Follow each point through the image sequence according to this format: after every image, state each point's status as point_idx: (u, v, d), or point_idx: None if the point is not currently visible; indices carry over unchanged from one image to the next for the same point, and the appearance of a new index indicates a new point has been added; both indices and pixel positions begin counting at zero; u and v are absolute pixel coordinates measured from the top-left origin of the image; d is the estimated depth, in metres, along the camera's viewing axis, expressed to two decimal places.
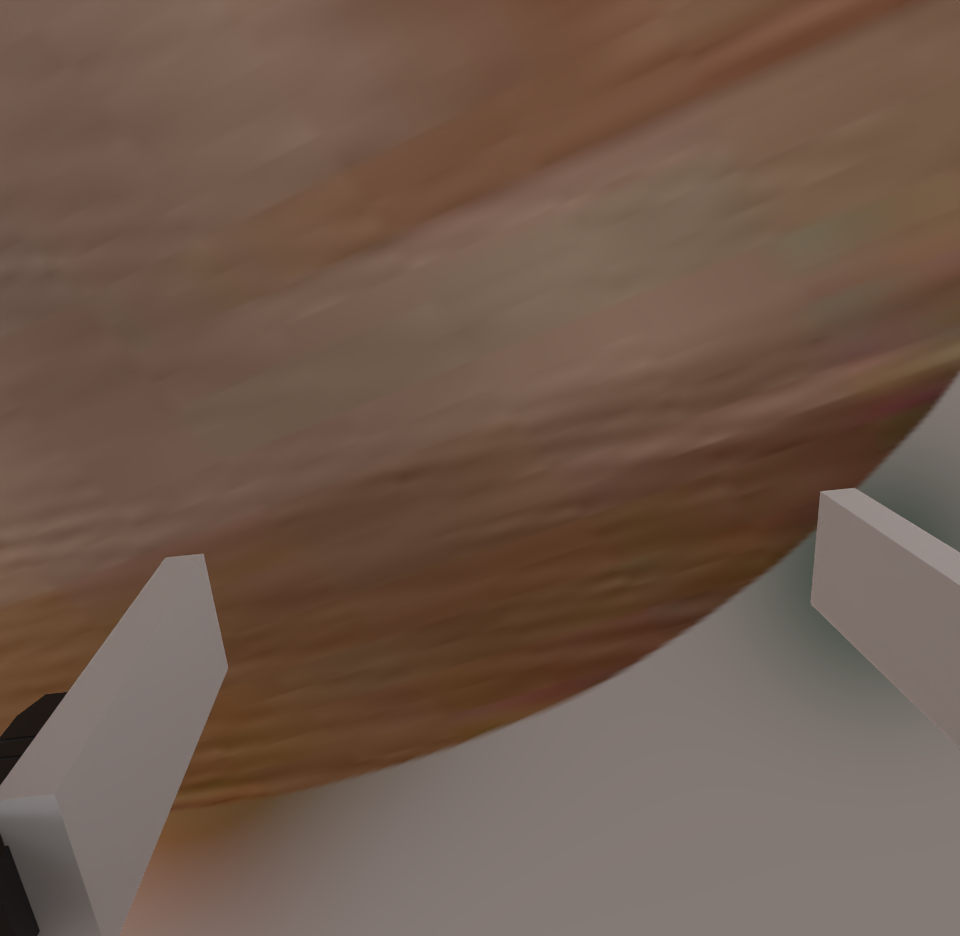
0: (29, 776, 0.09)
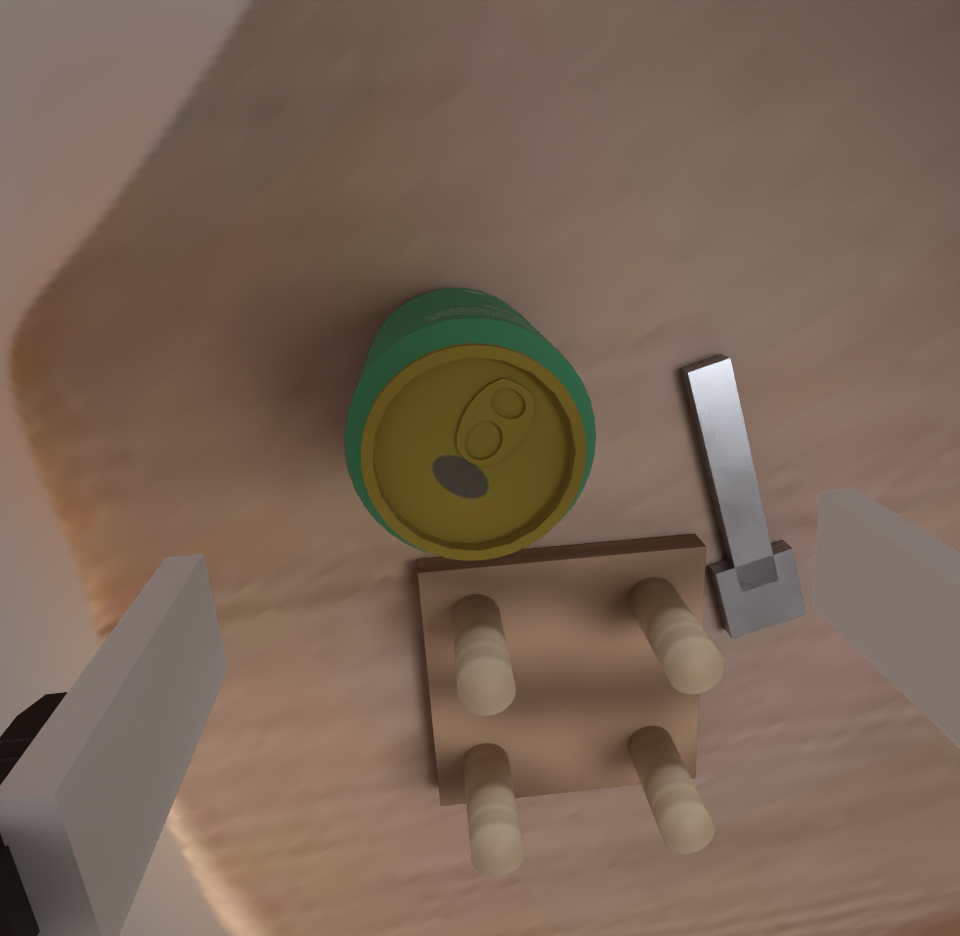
0: (29, 776, 0.09)
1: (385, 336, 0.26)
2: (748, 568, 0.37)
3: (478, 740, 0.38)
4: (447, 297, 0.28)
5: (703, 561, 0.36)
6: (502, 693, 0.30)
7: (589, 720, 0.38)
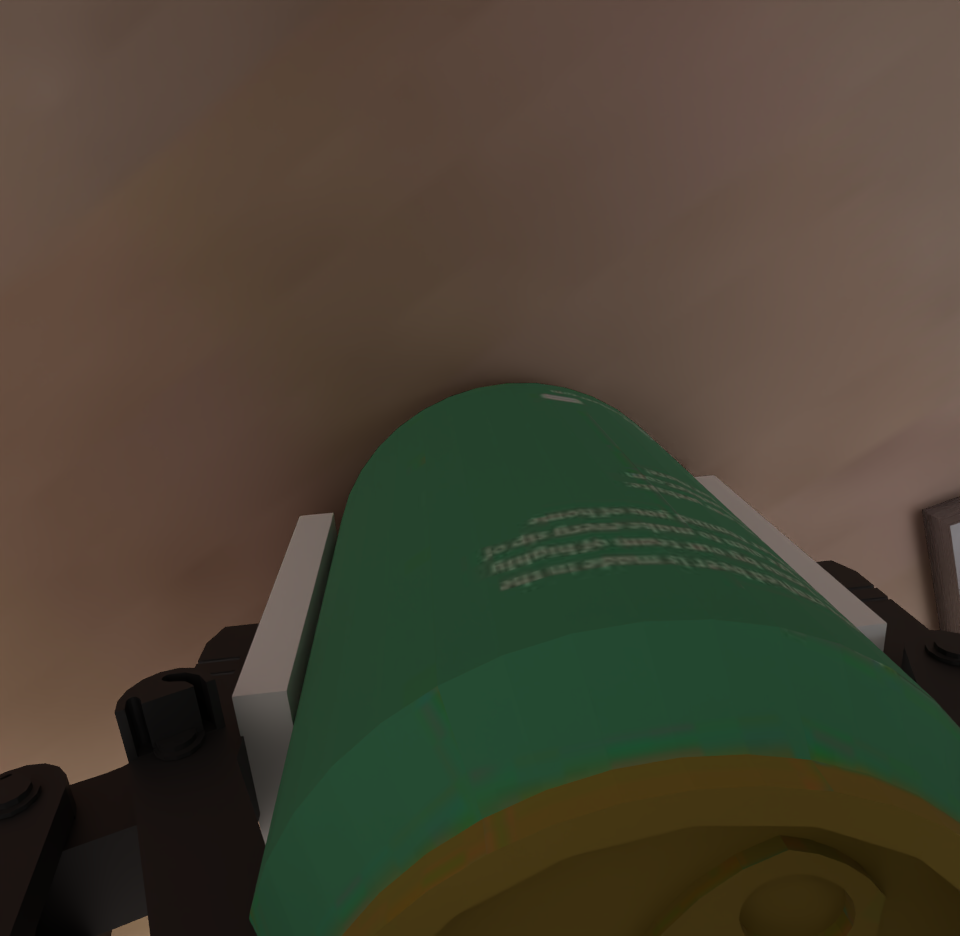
0: (258, 678, 0.10)
1: (374, 556, 0.10)
2: None
3: None
4: (516, 430, 0.12)
5: None
6: None
7: None
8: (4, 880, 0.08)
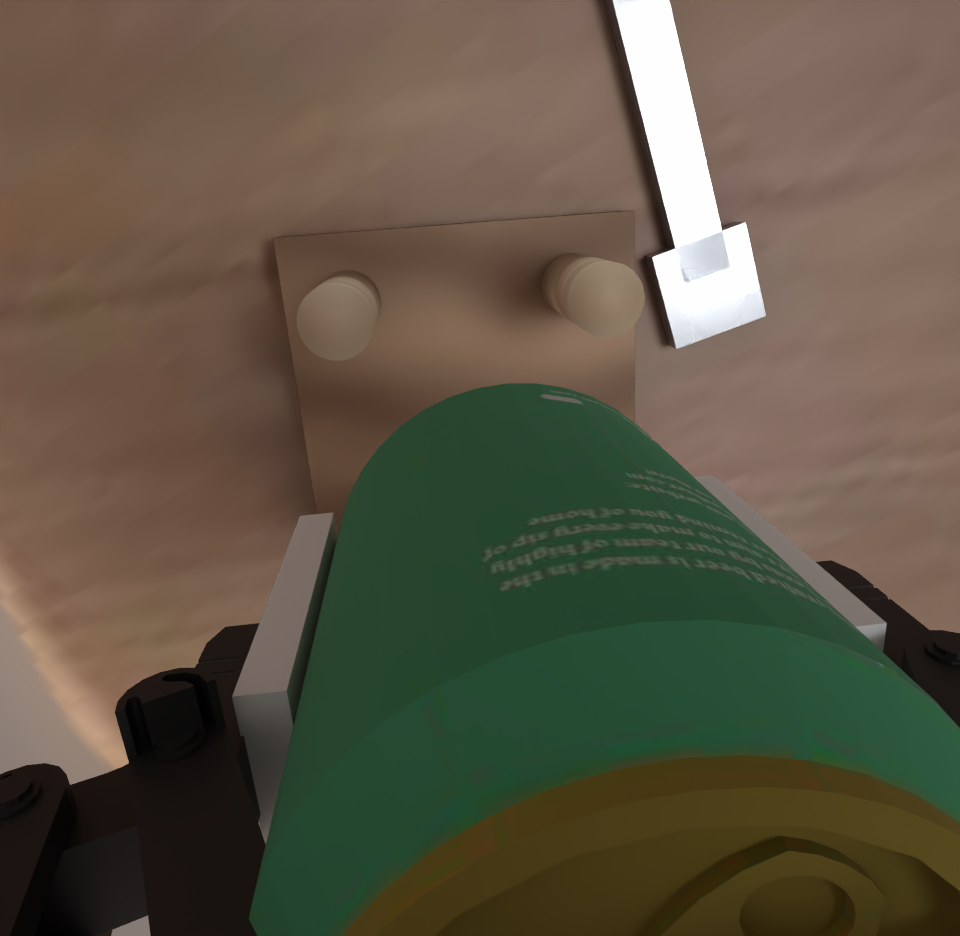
0: (258, 678, 0.10)
1: (374, 557, 0.10)
2: (692, 249, 0.30)
3: None
4: (516, 430, 0.12)
5: (631, 231, 0.29)
6: (356, 327, 0.23)
7: None
8: (4, 880, 0.08)
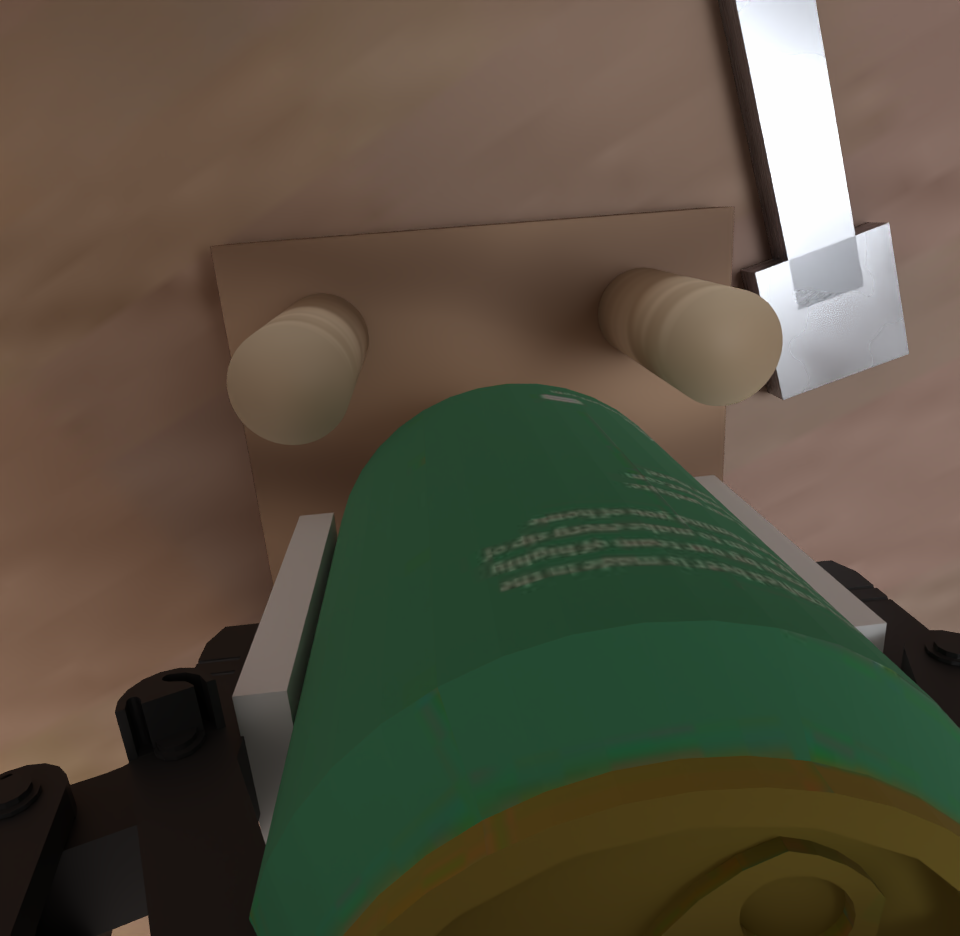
0: (258, 678, 0.10)
1: (374, 557, 0.10)
2: (812, 262, 0.21)
3: None
4: (516, 430, 0.12)
5: (729, 237, 0.20)
6: (323, 392, 0.14)
7: None
8: (5, 880, 0.08)
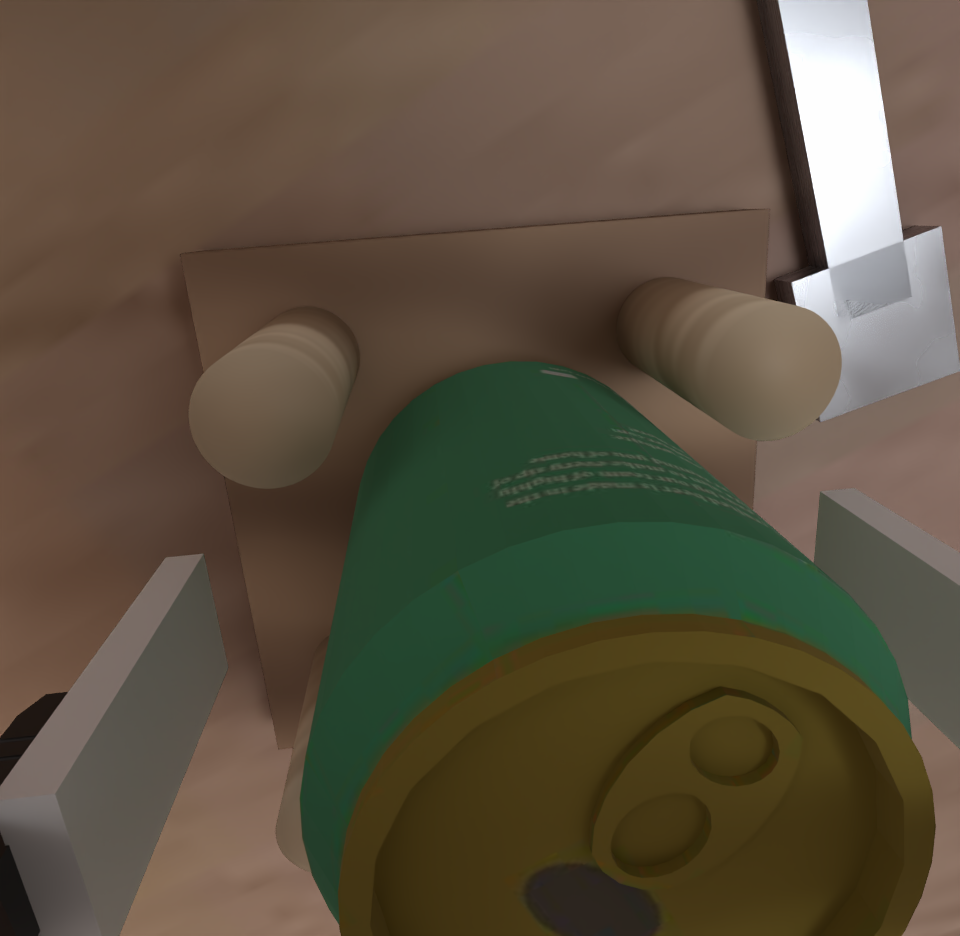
0: (29, 776, 0.09)
1: (398, 496, 0.12)
2: (854, 270, 0.19)
3: None
4: (519, 396, 0.14)
5: (764, 242, 0.18)
6: (303, 428, 0.12)
7: None
8: None
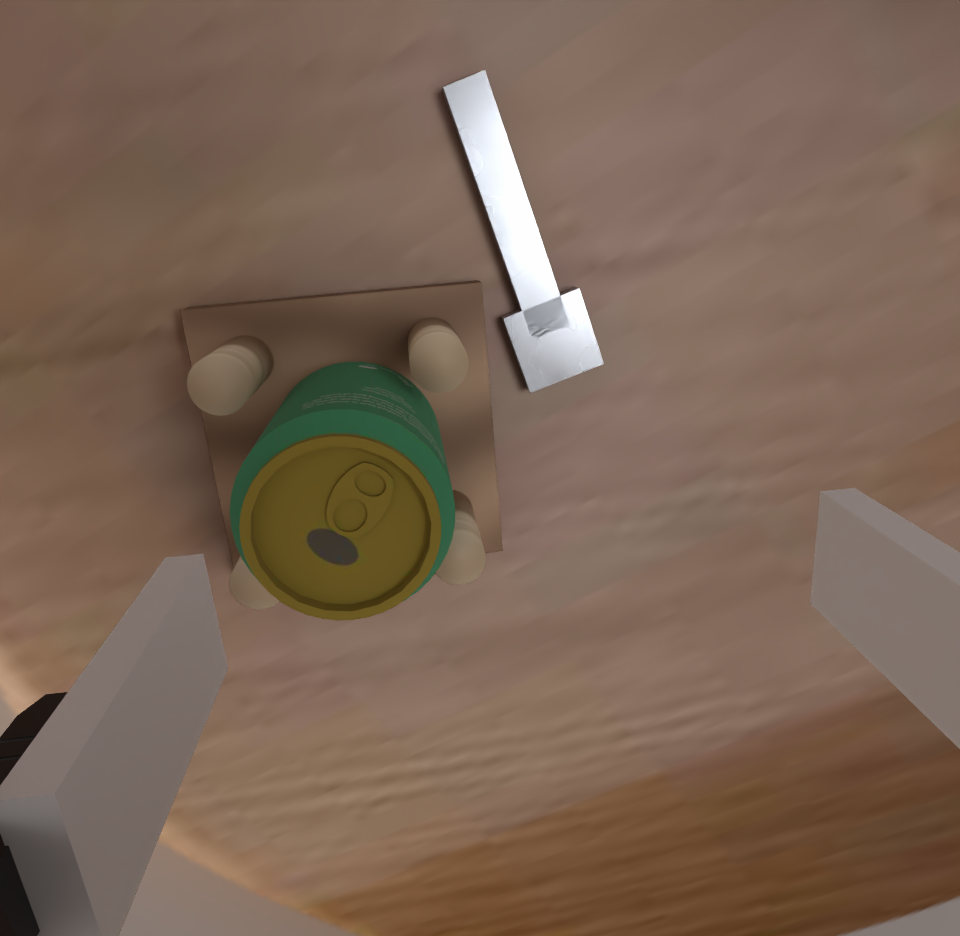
0: (29, 776, 0.09)
1: (275, 416, 0.29)
2: (536, 311, 0.36)
3: None
4: (336, 376, 0.31)
5: (480, 299, 0.35)
6: (235, 388, 0.29)
7: None
8: None
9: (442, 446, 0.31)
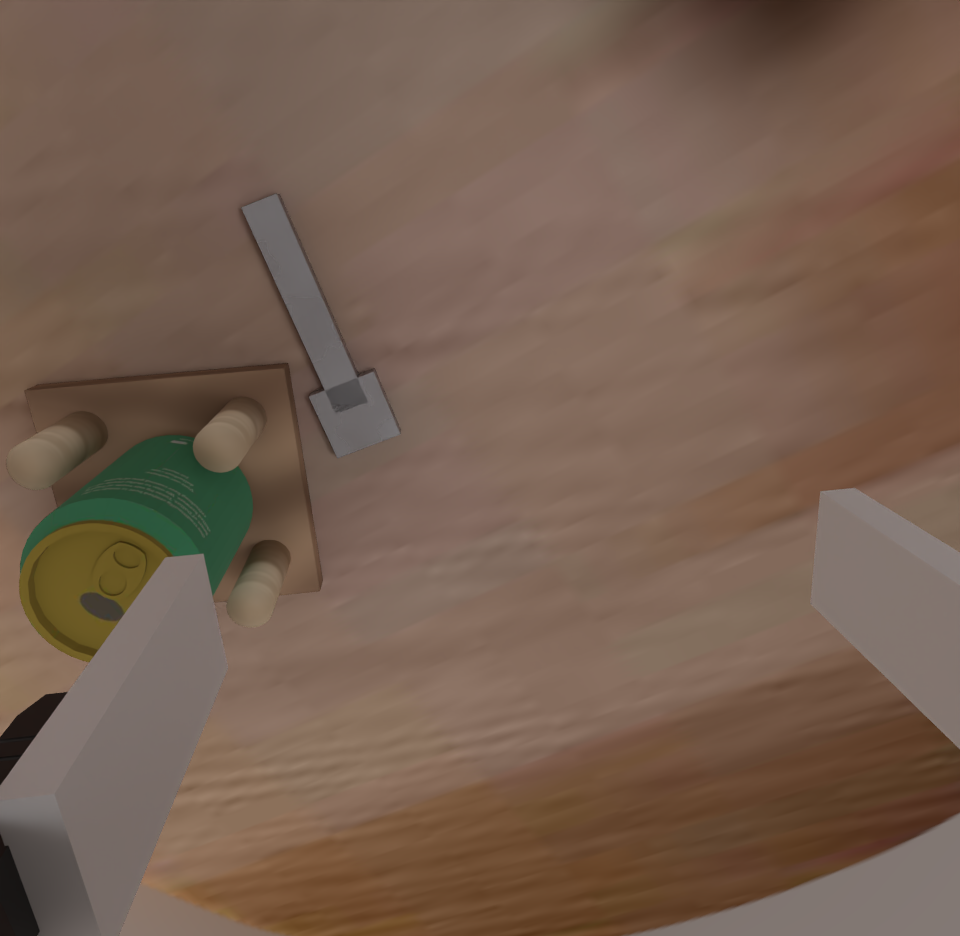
0: (29, 776, 0.09)
1: None
2: (337, 390, 0.42)
3: None
4: (140, 454, 0.37)
5: (284, 382, 0.41)
6: (47, 468, 0.35)
7: None
8: None
9: (229, 514, 0.37)
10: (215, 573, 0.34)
